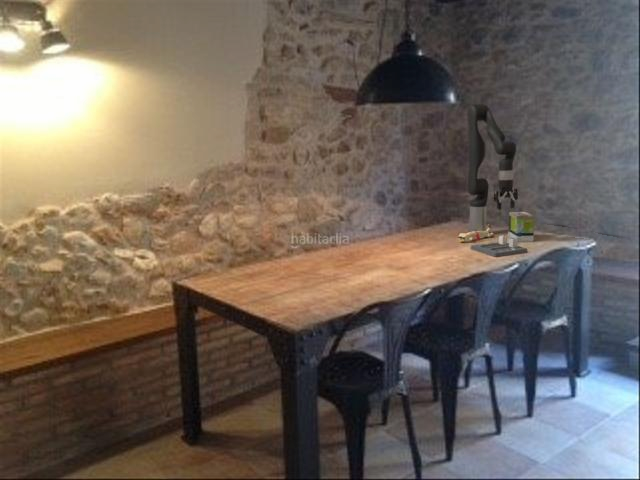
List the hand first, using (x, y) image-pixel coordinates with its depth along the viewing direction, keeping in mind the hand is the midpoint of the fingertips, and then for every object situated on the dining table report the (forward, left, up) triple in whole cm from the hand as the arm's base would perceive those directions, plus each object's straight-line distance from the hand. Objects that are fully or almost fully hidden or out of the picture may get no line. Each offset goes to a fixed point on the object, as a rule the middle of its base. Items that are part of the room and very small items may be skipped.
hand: (505, 208), depth 314 cm
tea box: (-4, +14, -20) cm, 24 cm away
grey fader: (+16, -8, -17) cm, 25 cm away
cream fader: (+8, -8, -17) cm, 20 cm away
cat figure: (-16, -8, -20) cm, 26 cm away
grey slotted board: (+12, -14, -19) cm, 27 cm away
